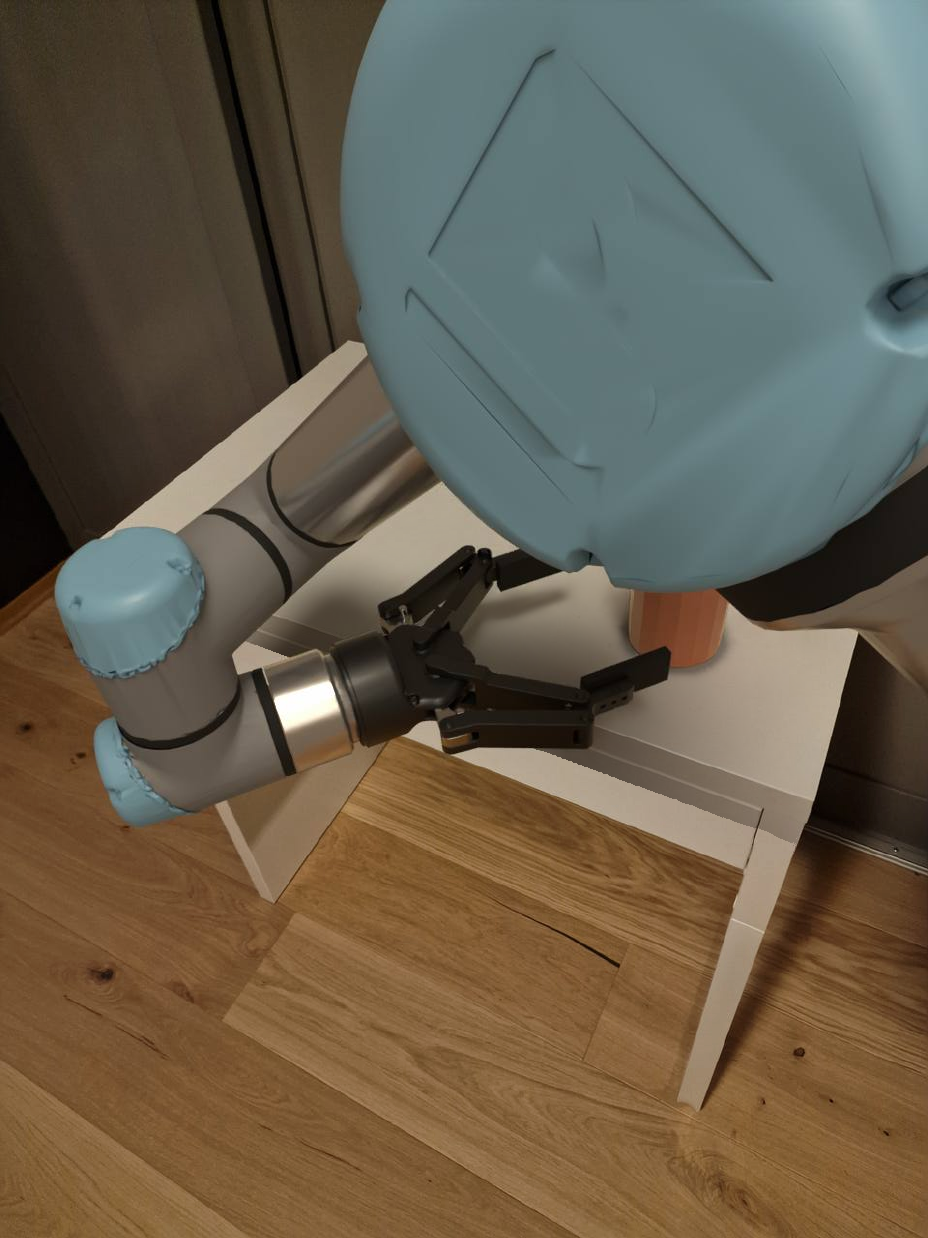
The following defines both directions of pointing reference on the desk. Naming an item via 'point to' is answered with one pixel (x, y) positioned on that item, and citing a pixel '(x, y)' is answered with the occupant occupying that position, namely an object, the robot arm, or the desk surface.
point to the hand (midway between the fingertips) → (616, 603)
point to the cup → (678, 624)
